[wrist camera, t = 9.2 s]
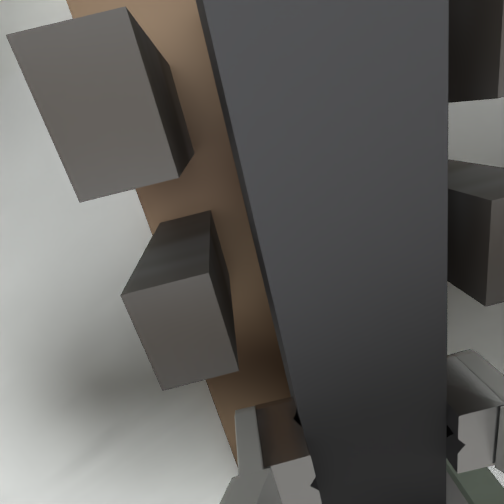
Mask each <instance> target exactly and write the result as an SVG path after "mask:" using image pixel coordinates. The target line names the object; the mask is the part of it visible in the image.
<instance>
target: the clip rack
mask: <svg viewBox="0 0 504 504" xmlns="http://www.w3.org/2000/svg"><path fill="white" fill-rule="evenodd" d="M66 1H67V4H68V6H69V9H70V12H71V14H72V17H73V19H70V20H66V21H62V22H58V23H54V24H50V25H45V26H41V27H37V28H33V29H29V30H24V31H20V32H16V33H12V34H8V35H6V36H7V39H8V41H9V43H10V46H11V48H12V50H13V52H14V55H15V57H16V59H17V61H18V64H19V66H20V68H21V70H22V73H23V75H24V77H25V80H26V82H27V84H28V86H29V89H30V91H31V93H32V95H33V98H34V100H35V102H36V105H37V107H38V109H39V111H40V114H41V116H42V118H43V120H44V123H45V125H46V127H47V129H48V132H49V134H50V136H51V139H52V141H53V143H54V145H55V148H56V150H57V152H58V154H59V157H60V159H61V161H62V163H63V166H64V168H65V170H66V173H67V175H68V177H69V179H70V182H71V184H72V186H73V188H74V191H75V193H76V195H77V198H78V200H79V202H84V201H88V200H92V199H96V198H100V197H104V196H108V195H112V194H116V193H120V192H124V191H128V190H132V189H136V191H137V194H138V197H139V200H140V202H141V205H142V208H143V210H144V213H145V216H146V219H147V221H148V224H149V227H150V230H151V232H152V235H153V236H152V238H151V240H150V242H149V244H148V246H147V248H146V249H145V251H144V253H143V255H142V257H141V259H140V260H139V262H138V264H137V266H136V268H135V270H134V271H133V273H132V275H131V277H130V279H129V281H128V283H127V284H126V286H125V288H124V290H123V292H122V294H121V297H122V300H123V302H124V304H125V306H126V309H127V311H128V313H129V315H130V318H131V320H132V322H133V325H134V327H135V329H136V331H137V334H138V336H139V338H140V340H141V343H142V345H143V347H144V349H145V352H146V354H147V356H148V359H149V361H150V363H151V365H152V368H153V370H154V372H155V374H156V377H157V379H158V381H159V384H160V386H161V388H162V390H163V391H164V390H167V389H171V388H175V387H179V386H183V385H187V384H190V383H194V382H198V381H202V380H206V382H207V385H208V388H209V390H210V393H211V396H212V398H213V401H214V404H215V407H216V409H217V412H218V415H219V417H220V420H221V423H222V426H223V428H224V431H225V434H226V437H227V439H228V442H229V445H230V447H231V450H232V453H233V456H234V458H235V461H236V464H237V467H238V461H237V446H236V431H235V417H234V416H235V410H238V409H243V408H247V407H251V406H255V405H258V404H262V403H267V402H271V401H275V400H280V399H284V398H288V397H291V394H290V390H289V386H288V382H287V378H286V374H285V370H284V365H283V361H282V357H281V353H280V349H279V345H278V340H277V336H276V332H275V328H274V324H273V320H272V316H271V311H270V307H269V303H268V299H267V295H266V291H265V287H264V282H263V278H262V274H261V270H260V266H259V262H258V258H257V253H256V249H255V245H254V241H253V237H252V233H251V228H250V224H249V220H248V216H247V212H246V208H245V204H244V199H243V195H242V191H241V187H240V183H239V179H238V175H237V170H236V166H235V162H234V158H233V154H232V150H231V145H230V141H229V137H228V133H227V129H226V125H225V121H224V116H223V112H222V108H221V104H220V100H219V96H218V92H217V87H216V83H215V79H214V75H213V71H212V67H211V62H210V58H209V54H208V50H207V46H206V42H205V38H204V33H203V29H202V25H201V21H200V17H199V13H198V9H197V4H196V0H66ZM501 97H504V0H449V37H448V103H450V102H461V101H473V100H484V99H495V98H501ZM447 281H448V282H450V283H451V284H453V285H454V286H456V287H457V288H459V289H460V290H462V291H463V292H465V293H466V294H468V295H469V296H471V297H472V298H474V299H475V300H477V301H478V302H480V303H481V304H483V305H484V306H490V305H494V304H497V303H501V302H504V168H500V167H494V166H487V165H481V164H474V163H468V162H461V161H454V160H448V240H447ZM446 471H447V472H448V474H449V475H450V477H451V478H452V480H453V481H454V483H455V484H456V486H457V487H458V489H459V490H460V492H461V493H462V495H463V496H464V498H465V499H466V501H467V502H468V504H504V488H503V486H502V485H501V484H500V483H499V481H498V480H497V479H496V478H495V476H494V475H493V474H492V473H491V471H490V470H489V469H488V468H487V467H484V468H480V469H476V470H471V471H467V472H463V473H458V474H457V472H456V471H455V470H454V468H453V467H452V465H451V464H450V462H449V461H448V460H447V458H446Z"/></svg>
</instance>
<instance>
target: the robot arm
mask: <svg viewBox="0 0 504 504" xmlns="http://www.w3.org/2000/svg"><path fill="white" fill-rule="evenodd" d="M234 417H235V431H236V446H237V461H238V476H236V477H233V478H232V479H231V481H230V483H229V485H228V487H227V489H226V491H225V494H224V496H223V498H222V500H221V502H220V504H322V502H321V497H320V493H319V489H318V485H317V482H316V478H315V477H316V475H315V471H314V467H313V463H312V459H311V455H310V452H309V448H308V445H307V441H306V438H305V436H304V432H303V429H302V426H301V424H300V420H299V416H298V412H297V408H296V404H295V401H294V398H293V397H288V398H284V399H280V400H275V401H271V402H267V403H262V404H258V405H255V406H251V407H247V408H243V409H238V410H235V416H234ZM446 424H447V438H446V458H447V460H448V461H449V462H450V464H451V465H452V467H453V468H454V470H455V471H456V472H457V474H458V473H463V472H467V471H471V470H476V469H480V468H484V467H488V466H493V465H495V468H497V469H498V470H500V471H501V472H503V473H504V375H503V374H502V373H500V372H499V371H498V370H497V369H496V368H495V367H493V366H492V365H491V364H490V363H489V362H488V361H486V360H485V359H484V358H483V357H482V356H481V355H479V354H478V353H477V352H476V351H474V350H471V349H469V350H465V351H461V352H457V353H454V354H450V355H447V401H446Z"/></svg>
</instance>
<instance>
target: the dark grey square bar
mask: <svg viewBox="0 0 504 504" xmlns="http://www.w3.org/2000/svg"><path fill="white" fill-rule="evenodd" d="M196 4H197V9H198V13H199V17H200V21H201V25H202V29H203V33H204V38H205V42H206V46H207V50H208V54H209V58H210V62H211V67H212V71H213V75H214V79H215V83H216V87H217V92H218V96H219V100H220V104H221V108H222V112H223V116H224V121H225V125H226V129H227V133H228V137H229V141H230V145H231V150H232V154H233V158H234V162H235V166H236V170H237V175H238V179H239V183H240V187H241V191H242V195H243V199H244V204H245V208H246V212H247V216H248V220H249V224H250V228H251V233H252V237H253V241H254V245H255V249H256V253H257V258H258V262H259V266H260V270H261V274H262V278H263V282H264V287H265V291H266V295H267V299H268V303H269V307H270V311H271V316H272V320H273V324H274V328H275V332H276V336H277V340H278V345H279V349H280V353H281V357H282V361H283V365H284V370H285V374H286V378H287V382H288V386H289V390H290V394H291V397H293V398H294V401H295V404H296V408H297V412H298V416H299V420H300V424H301V426H302V429H303V432H304V436H305V438H306V441H307V445H308V448H309V452H310V455H311V459H312V463H313V467H314V471H315V475H316V477H315V478H316V482H317V485H318V489H319V493H320V497H321V502H322V504H468V502H467V501H466V499H465V498H464V496H463V495H462V493H461V492H460V490H459V489H458V487H457V486H456V484H455V483H454V481H453V480H452V478H451V477H450V475H449V474H448V472H447V471H446V438H447V424H446V401H447V240H448V37H449V0H196Z"/></svg>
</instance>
